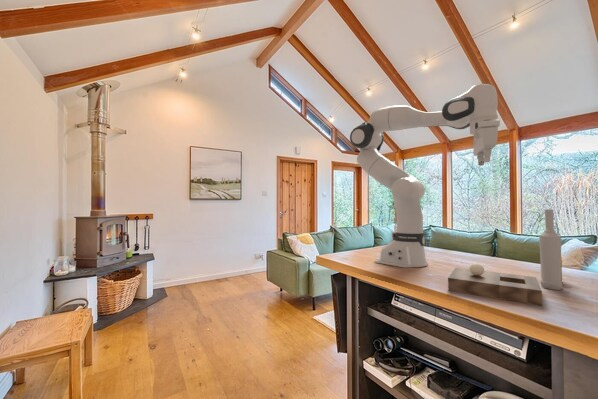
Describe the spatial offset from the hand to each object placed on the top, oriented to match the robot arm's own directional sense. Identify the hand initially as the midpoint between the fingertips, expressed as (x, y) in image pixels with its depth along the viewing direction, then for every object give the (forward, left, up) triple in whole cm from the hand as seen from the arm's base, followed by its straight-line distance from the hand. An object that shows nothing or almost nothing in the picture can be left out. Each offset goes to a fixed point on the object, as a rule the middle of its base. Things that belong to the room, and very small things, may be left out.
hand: (483, 163), depth 102 cm
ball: (-2, -19, -36) cm, 41 cm away
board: (+2, -19, -42) cm, 46 cm away
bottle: (+17, -5, -42) cm, 46 cm away
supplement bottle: (+18, +5, -42) cm, 46 cm away
